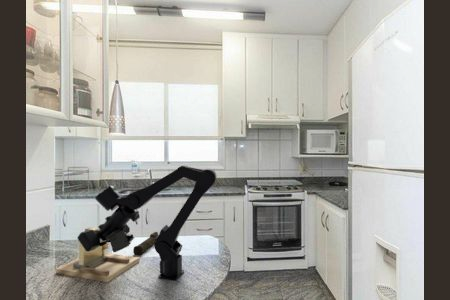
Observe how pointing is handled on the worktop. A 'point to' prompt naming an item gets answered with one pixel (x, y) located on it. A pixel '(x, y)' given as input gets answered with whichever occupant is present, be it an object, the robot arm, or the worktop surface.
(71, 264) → the board
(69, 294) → the worktop surface
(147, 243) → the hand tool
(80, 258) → the tan upright block
